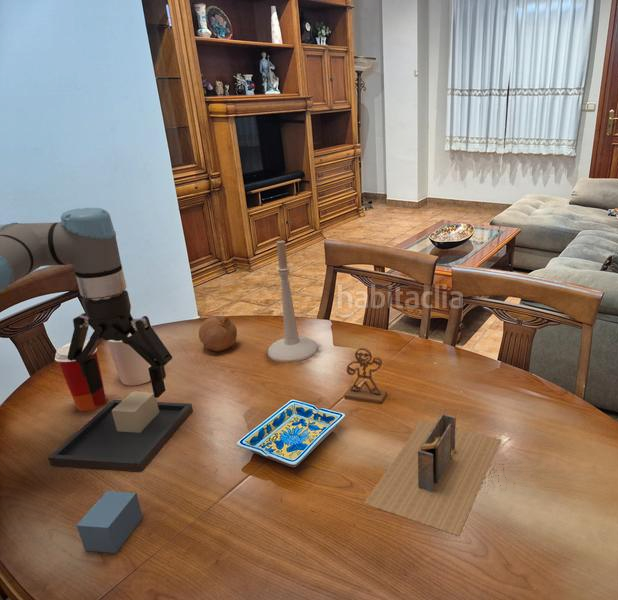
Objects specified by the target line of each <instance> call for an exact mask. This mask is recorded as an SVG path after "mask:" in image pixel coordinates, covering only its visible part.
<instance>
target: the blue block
mask: <svg viewBox="0 0 618 600" xmlns="http://www.w3.org/2000/svg"><path fill="white" fill-rule="evenodd" d="M143 517H144V515H143V512H142V509H141V505H140V501H139V498H138V493H137V492H130V491H129V492H128V491H117V490H116V491H115V490H106V491H105V492H104V494H103V495H102V496H101V497H100V498H99V499H98V500H97V501H96V502H95V504H93V506H92V507H91V508H90V509H89V510H88V511H87V513H85V515H84V516H83V517H82V518H81V519H80V521H79V522H78V523H77V524H76V530H77V531H78V534H79V538H80V540H81V543H82V546H83V549H84V551H86V552H98V553H99V552H100V553H109V554H110V553H111V554H117V552H118V551H119V549H120V548H121V547H122V546H123V545H124V544H125V542H126V541H127V539H128V538H129V537H130V535H131V534H132V532H133V531H134V530H135V528H136V527H137V526H138V524H139V523H140V522H141V520H142V519H143Z"/></svg>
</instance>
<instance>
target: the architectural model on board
mask: <svg viewBox="0 0 618 600" xmlns="http://www.w3.org/2000/svg"><path fill="white" fill-rule="evenodd" d="M456 419H457V417H456V416H453V415H448V414H445V413H442V414H441V415H440V417H439V418H438V420H437V421H436V422H433V421H429V420H425V419H422V420H420V422H419V424H418V425H417V427H416V428H415V429H414V431H413V432H412V434H411V435H410V436H409V438H408V439H407V441H406V442H405V443H404V445H403V447H402V448H401V449H400V450H399V452H398V453H397V455H396V456H395V458H394V460H393V461H392V462H391V463H390V465H389V467H388V468H387V469H386V471H385V472H384V474H382V476H381V478H380V479H379V481H378V482H377V483H376V485H375V487H374V488H373V490H372V491H371V492H370V494H368V496H367V498H366V500H364V502H363V504H364V505H367V506H370V507H373V508H376V509H378V510H382V511H385V512H387V513H390V514H394V515H396V516H399V517H402V518H405V519H409V520H411V521H414V522H417V523H419V524H423V525H425V526H429V527H431V528H434V529H437V530H440V531H444V532H446V533H450V534H453V535H456V536H458V537H459V536H460V535H461V532H462V531H463V528H464V526H465V523H466V521H467V518H468V516H469V514H470V511H471V510H472V507H473V505H474V503H475V500H476V498H477V496H478V493H479V491H480V489H481V487H482V484H483V482H484V480H485V477H486V475H487V472H488V470H489V468H490V466H491V464H492V462H493V460H494V457H495V455H496V453H497V451H498V447H499V446H500V444H501V441H502V439H500V438H496V437H492V436H488V435H485V434H481V433H476V432H473V431H468V430H466V429H465V430H464V429H460V428H456V424H457V423H456V422H457V421H456Z"/></svg>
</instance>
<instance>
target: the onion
mask: <svg viewBox="0 0 618 600" xmlns="http://www.w3.org/2000/svg"><path fill="white" fill-rule="evenodd" d="M237 337H238V329H237V327H236V325H235V324H234V322H233V321H232V320H231V319H230V318H229V317H224V316H219V315H214V316H211V317H208V318H206V319H204V321H203V322H201V325H200V327H199V330H198V338H199V341H200V343H202V344H203V347H204V348H206V349H208V350H210V351H213V352H216V353H218V352H222V351H225V350H227V349H229V348H230V347H232V346H233V345H234V343H235V342H236V339H237Z"/></svg>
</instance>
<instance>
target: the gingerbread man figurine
mask: <svg viewBox="0 0 618 600" xmlns="http://www.w3.org/2000/svg"><path fill="white" fill-rule="evenodd" d="M359 351H365V353H363V352H359ZM363 356H364V358H363ZM354 357H355V359H356V360H353V361H351V362H349V363H348V365H347V367H346V373H347V374H348V375H349V376H354V375H355V374H356V373H357V378H356V380H355V381H354V383H353V385H350V386H349V387H348V388H347V390H346V391H345V393H344V394H343V398H344V399H346V400H351V401H358V402H366V403H372V404H376V405H377V404H378V405H382V404H383V403H384V402H385V400H386V398H387V397H388V392H387V390H383V389H382V390H381V389H379V387H378V386H377V384H376V383H375V381H374V379H373V377H372V373H373V372H377V371H378V370H379V369H380V368H381V367H382V363H383V360H382V358H380V357H379V356H376V357H374V358H373V354H372V352H371V351H370V350H369V349H368V348H366V347H358V348H357V350H356V351H355V353H354ZM372 358H373V359H372ZM371 360H372V362H371ZM352 364H353V365H354V364H359V367H355V368H353V367H351V365H352ZM374 364H375V365H377V366H378V367H377V368H374V369H371V368H370V369H369V370H368V374H369V375H367V371H366V370H367V368H368V367H369V366H372V365H374ZM360 368H362V371H363V372H362V374H361V373H360ZM359 379H364V381H363V383H362V385H361V386H359V385H357V382H358V380H359ZM367 380H369V381H370V383H371V384H372V386H373V388H371V386H370V385H369V383H368V382H367ZM364 385H365V387H363V386H364Z"/></svg>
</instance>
